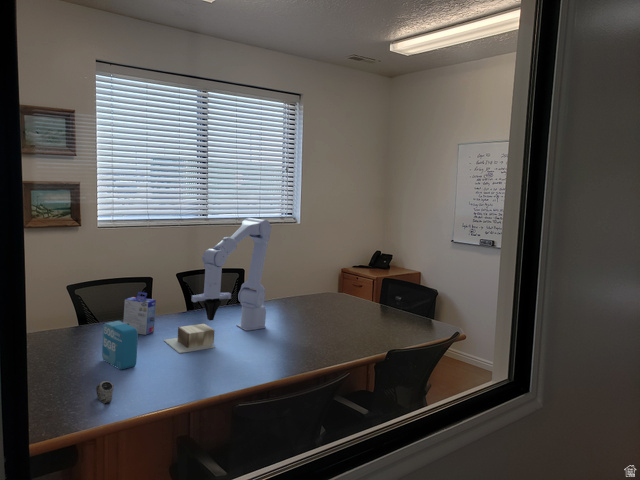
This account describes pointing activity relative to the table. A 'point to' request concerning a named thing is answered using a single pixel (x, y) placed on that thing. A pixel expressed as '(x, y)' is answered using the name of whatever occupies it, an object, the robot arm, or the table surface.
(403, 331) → the table surface
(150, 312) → the ink cartridge box
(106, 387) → the grey stone mug
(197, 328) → the ash block
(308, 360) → the table surface
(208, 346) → the mat
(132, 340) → the data package
